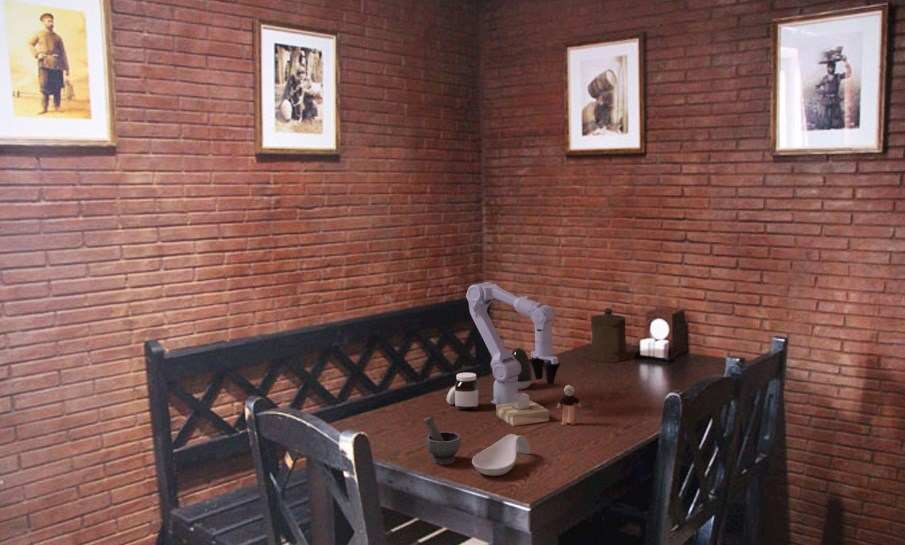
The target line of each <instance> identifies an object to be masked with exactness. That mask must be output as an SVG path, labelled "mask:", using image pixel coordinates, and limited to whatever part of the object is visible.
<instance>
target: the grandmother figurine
mask: <svg viewBox="0 0 905 545" xmlns="http://www.w3.org/2000/svg"><path fill="white" fill-rule="evenodd" d="M563 392H564V393H565V395H564V396H562V397H561V399H560V400H559V401H558V403H557V406H556V408H557V409H560V408H561V407H562V405H563V407H562V416H561V417H562V418H561V419H562V421H561V424H560V425H561V426H567V425H571V426H574V425H576V422H575V404H576V405H577V407H579V408H581V407H582V404H581V401H580V399H579V398H578V397H576V396H574V393H575V388H574V386H572V385H570V384H567V385H565V386H564V388H563Z"/></svg>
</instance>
